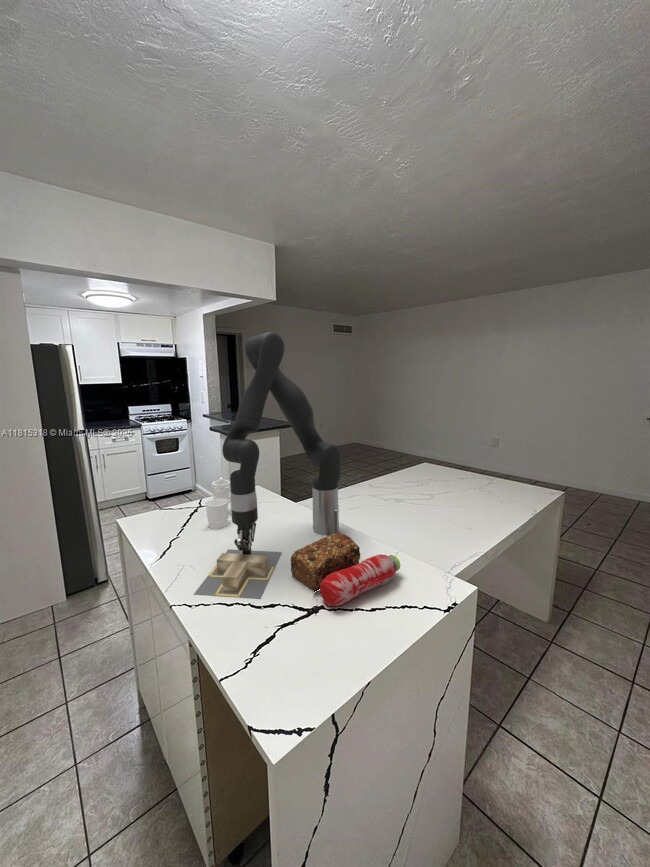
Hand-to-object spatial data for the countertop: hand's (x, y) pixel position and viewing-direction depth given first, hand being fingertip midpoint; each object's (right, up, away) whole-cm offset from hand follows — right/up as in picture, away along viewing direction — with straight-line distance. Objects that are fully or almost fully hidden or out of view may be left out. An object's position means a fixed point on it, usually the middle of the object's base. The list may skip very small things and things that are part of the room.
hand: (247, 559), depth 107 cm
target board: (-1, -3, -4) cm, 5 cm away
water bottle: (+33, -4, -11) cm, 35 cm away
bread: (+24, -3, -5) cm, 25 cm away
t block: (-1, -2, -8) cm, 8 cm away
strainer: (-19, +4, +40) cm, 44 cm away
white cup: (-17, +2, +27) cm, 32 cm away
